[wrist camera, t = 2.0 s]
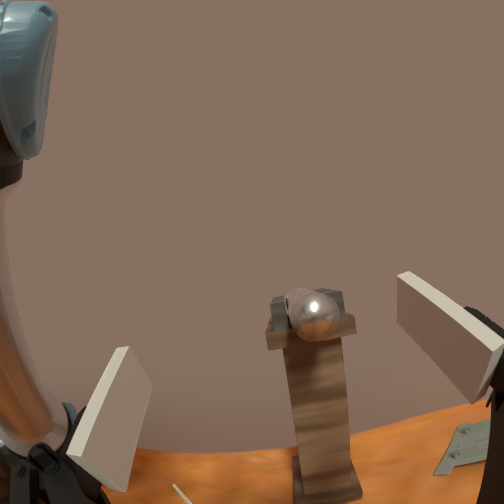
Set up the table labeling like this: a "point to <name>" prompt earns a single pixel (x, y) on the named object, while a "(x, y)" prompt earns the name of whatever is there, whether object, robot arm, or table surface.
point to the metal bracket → (465, 447)
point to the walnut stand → (318, 407)
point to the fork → (182, 494)
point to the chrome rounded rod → (312, 314)
